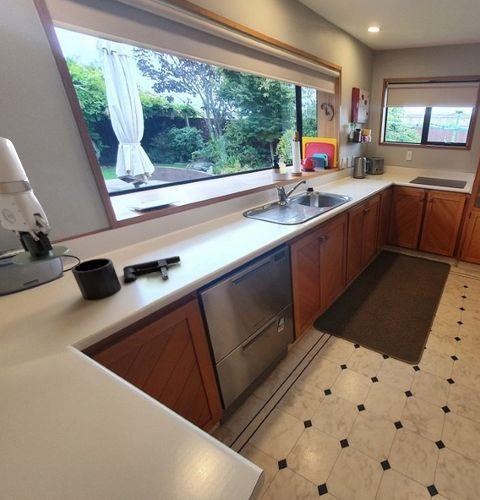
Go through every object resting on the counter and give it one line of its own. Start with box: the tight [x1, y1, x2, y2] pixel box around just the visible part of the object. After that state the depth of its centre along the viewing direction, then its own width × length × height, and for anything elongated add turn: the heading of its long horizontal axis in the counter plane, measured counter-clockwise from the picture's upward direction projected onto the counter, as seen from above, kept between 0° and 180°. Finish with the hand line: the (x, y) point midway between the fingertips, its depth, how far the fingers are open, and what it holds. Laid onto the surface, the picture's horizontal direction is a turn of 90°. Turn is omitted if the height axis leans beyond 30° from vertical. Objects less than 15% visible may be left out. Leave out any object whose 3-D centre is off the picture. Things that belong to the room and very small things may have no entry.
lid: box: [11, 231, 70, 266], centre depth 81 cm, size 12×12×7 cm
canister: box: [70, 257, 122, 301], centre depth 98 cm, size 10×10×12 cm
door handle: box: [122, 255, 181, 284], centre depth 114 cm, size 3×20×16 cm
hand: (39, 250), depth 81 cm, fingers closed on lid, 4 cm apart
